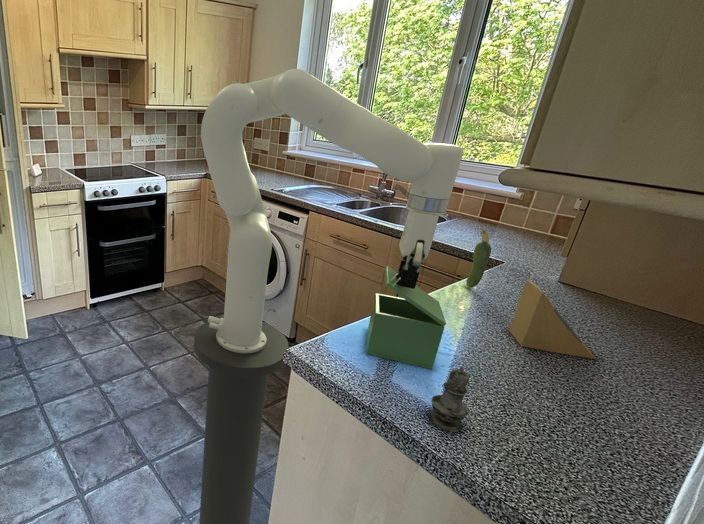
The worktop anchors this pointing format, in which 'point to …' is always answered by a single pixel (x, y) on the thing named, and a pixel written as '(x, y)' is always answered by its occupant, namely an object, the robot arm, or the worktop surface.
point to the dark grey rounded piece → (450, 402)
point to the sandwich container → (544, 325)
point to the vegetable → (479, 260)
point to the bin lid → (415, 296)
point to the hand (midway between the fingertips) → (405, 281)
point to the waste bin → (402, 332)
